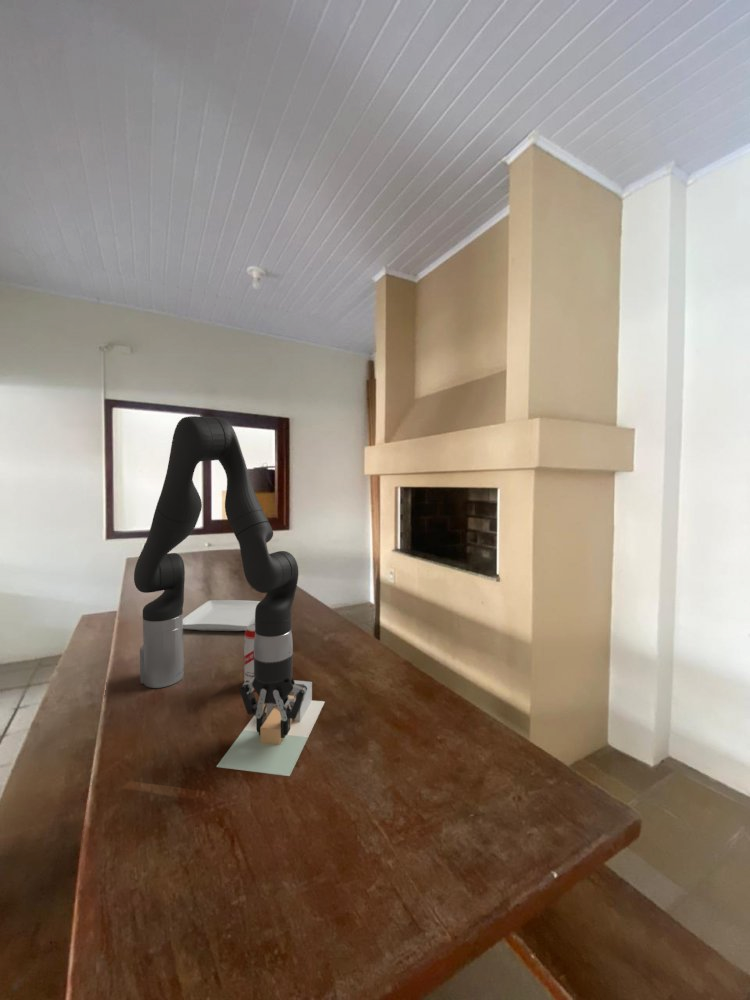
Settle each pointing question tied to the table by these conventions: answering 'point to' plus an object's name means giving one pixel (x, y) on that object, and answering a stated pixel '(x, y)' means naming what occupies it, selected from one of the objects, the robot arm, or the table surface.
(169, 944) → the table surface
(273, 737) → the tan wooden plank
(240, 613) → the square plate
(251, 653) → the beer can
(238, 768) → the two-tone mat
